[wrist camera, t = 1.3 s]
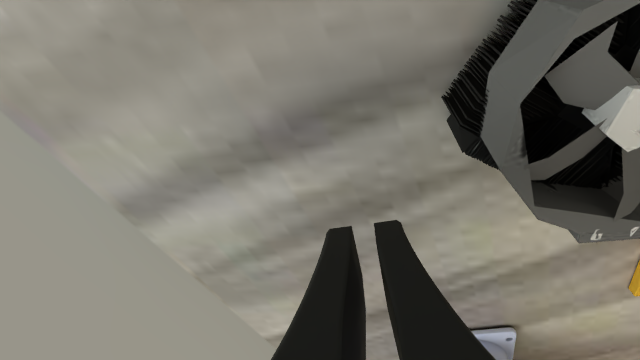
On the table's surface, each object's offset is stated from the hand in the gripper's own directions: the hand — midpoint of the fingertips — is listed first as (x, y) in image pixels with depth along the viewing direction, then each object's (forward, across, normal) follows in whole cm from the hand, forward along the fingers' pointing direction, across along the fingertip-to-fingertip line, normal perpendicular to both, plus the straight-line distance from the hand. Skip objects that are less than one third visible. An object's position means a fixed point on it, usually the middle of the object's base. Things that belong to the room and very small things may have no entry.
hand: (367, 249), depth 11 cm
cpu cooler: (+10, -10, 0) cm, 14 cm away
